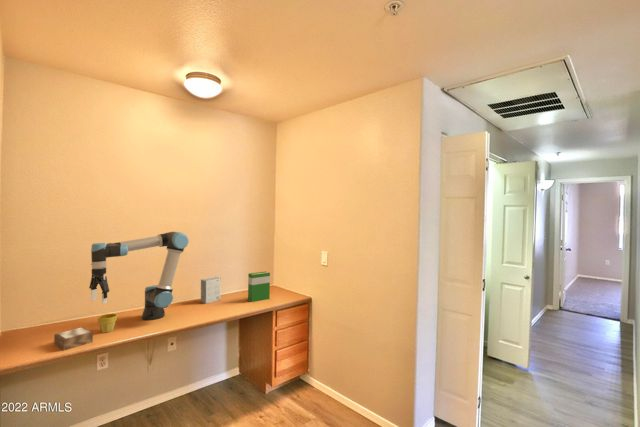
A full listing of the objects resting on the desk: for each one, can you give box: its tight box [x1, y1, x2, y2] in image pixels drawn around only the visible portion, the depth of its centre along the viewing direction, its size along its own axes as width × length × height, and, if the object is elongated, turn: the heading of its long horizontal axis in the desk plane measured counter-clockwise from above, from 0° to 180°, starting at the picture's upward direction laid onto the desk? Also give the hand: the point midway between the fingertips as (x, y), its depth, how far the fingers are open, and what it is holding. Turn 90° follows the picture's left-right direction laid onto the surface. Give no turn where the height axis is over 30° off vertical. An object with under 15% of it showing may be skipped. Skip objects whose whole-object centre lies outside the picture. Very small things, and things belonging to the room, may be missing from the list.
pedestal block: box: [53, 326, 94, 351], centre depth 184 cm, size 14×14×6 cm
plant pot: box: [97, 313, 118, 334], centre depth 203 cm, size 10×10×10 cm
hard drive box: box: [200, 276, 222, 305], centre depth 274 cm, size 16×8×20 cm, turn 144°
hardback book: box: [247, 271, 271, 303], centre depth 281 cm, size 18×7×24 cm, turn 129°
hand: (99, 301), depth 195 cm, fingers open, 13 cm apart
